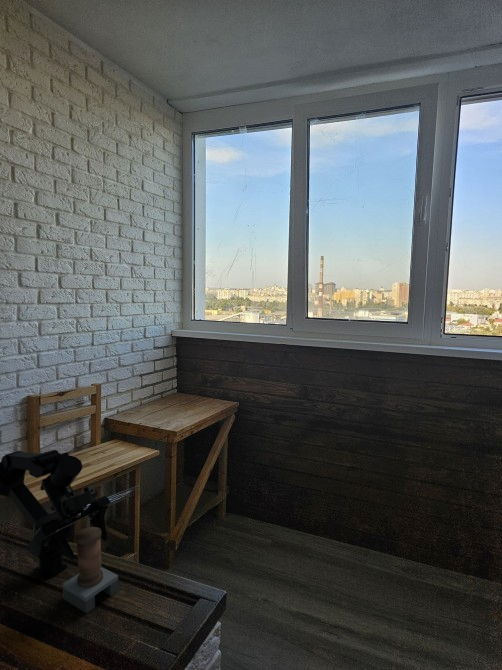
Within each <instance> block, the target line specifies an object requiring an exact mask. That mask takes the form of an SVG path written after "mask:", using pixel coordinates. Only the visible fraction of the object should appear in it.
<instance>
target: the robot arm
mask: <svg viewBox="0 0 502 670" xmlns="http://www.w3.org/2000/svg"><path fill="white" fill-rule="evenodd" d="M82 470H83V463H82V460H81V459H79V458H78V457H77V456H74V455H70V454H69V452H68V451H66V452H63V453H60V452H59V451H58V450H57V449H52V450H48V451H45V452H40V453H34V452H26V451H22V450H17V451H12V452H9V453H5V454H4V455H3V456H1V460H0V496H3V497H8V498H9V499H10V500H11V501H12V503H13V504H14V505H15V508H17V509H18V510H19V511H18V512H20V514H21V515H22V516H23V517H24V518H25V520H26V521H27V522H28V524H29V525H30V526H31V527H32V529H33V531H32V532H33V533H32V539H31V540H30V542H29V543H28V545H27V546H28V551H29V553H30V554H31V555H32V556H34V557H35V558H37V565H38V566H37V567H36V568H34V569H32V573H34V574H35V575H36V576H39V577H40V578H42V579H43V580H46V581H47V580H49V579H51V578H52V577H54V576H55V575H57V574H59V573H61V572H62V571H64V570H66V569H68V564H67V563H64V562H63V555H64V556H65V557H66V558H68V559H69V560H71V561H74V560H75V558H76V556H75V554H74V551H73V549H72V547H71V546H70V544H69V541H70V537H71V528H70V526H71V525H74V524H75V523H77V522H80V521H81V520H83V519H85V518H87V517H88V518H91V520H89V522H90V523H91V525H92V527H97V528H100V529H101V538H100V539H102V540H103V542H106V541H107V540H108V534H107V527H106V522H105V521H106V520H105V519H106V512H107V511H108V510H109V506H111V504H112V502H111V500H110V498H109V497H107V496H105V495H103V496H101V497H99V498H97V496H98V491H97V489H96V487H95V486H94V484H90V485H88V486H85V487H84V488H83V492H82V491H81V493H80V492H79V490H77V489H73V487H72V486H71V485H72V484H73V483H74V482H75V480H76V479H77V477H78V476H79V474H80V473H81V472H82ZM27 471H28V472H29V473H28V474H29V475H30V476H32V477H33V478H35V479H38V478H41V477H44V476H46V477H45V478H43V479H42V480H41V485H40V491H41V492H42V491H44V492H45V493H46V496H47V498H48V500H49V502H50V503H51V507H50V510H51V513H49V512H48V511H47V510H46V509H45V507H44V506H43V505H42V504H41V502H40V501H39V500H38V499H37V498H36V496H35V495H34V494H33V493H32V491H31V490H30V489H29V488H28V486H27V485H26V484H25V476H26V472H27ZM94 498H97V499H94Z"/></svg>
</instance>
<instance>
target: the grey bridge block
mask: <svg viewBox="0 0 502 670" xmlns="http://www.w3.org/2000/svg"><path fill="white" fill-rule="evenodd" d="M101 570H102V571H103V579H102V581H101V582H100V583H99V584H97V585H95V586H93V587H88V588H83V587H80V586H79V585H78V582H77V577H78V575H79V574H80V573H79V572H78V573H77V574H75V576H72V577H71V578H69V579H68V580H66V581H64V582H63V583H62V594H63V595H62V597H63V600H64V601H66V602H68V603H69V604H71V605H72V606H74V607H76V609H78V610H80V611H81V612H83V613H85V614H88V613H90V611H92V610H94V608H96V599H95V598H96V596H97V595H98V594H99V593H100V592H103V593H105V594H107V595H108V596H110V597H111V596H113V595H114V594H116V593H117V592H119V590H120V589H119V575H117V574H116V573H114V572H112V571H110V570H108V569H106V568H105V567H103V566H101Z"/></svg>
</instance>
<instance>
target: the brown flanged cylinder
mask: <svg viewBox="0 0 502 670" xmlns="http://www.w3.org/2000/svg"><path fill="white" fill-rule="evenodd" d="M74 538H75V543H76V551H77V569H78V571H77V572H78V574H79V573H80V574H79V575H78V577H77V582H78V585H79V586H80V587H83V588H88V587H93V586H95V585H97V584H99V583H100V582H101V581H102V579H103V571H102V570H101V567H102V550H101V549H102V548H101V539H102V538H101V529H100V528H97V527H93V526H89V527H85V528H82V529H80V530H79V531H77V532H76V533H75V535H74Z"/></svg>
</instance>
